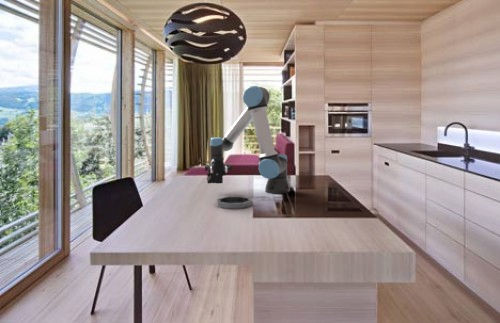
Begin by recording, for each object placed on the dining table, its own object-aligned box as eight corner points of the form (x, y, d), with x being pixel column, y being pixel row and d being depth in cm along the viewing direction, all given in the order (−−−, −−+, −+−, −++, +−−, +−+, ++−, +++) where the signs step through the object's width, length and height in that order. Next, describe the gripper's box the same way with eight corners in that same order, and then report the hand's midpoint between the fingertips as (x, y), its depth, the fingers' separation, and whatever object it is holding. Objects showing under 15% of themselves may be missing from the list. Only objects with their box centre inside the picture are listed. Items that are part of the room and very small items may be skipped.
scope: (209, 156, 220) (227, 156, 218) (210, 181, 221) (227, 181, 220) (205, 158, 212) (223, 158, 210) (206, 183, 213) (224, 184, 212)
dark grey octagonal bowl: (248, 200, 220) (248, 195, 220) (253, 207, 203) (253, 203, 202) (216, 201, 218) (216, 197, 218) (218, 209, 200) (218, 204, 200)
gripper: (234, 170, 235) (238, 176, 213) (200, 171, 233) (199, 177, 210) (234, 158, 234) (237, 162, 212) (199, 159, 232) (199, 163, 209)
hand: (218, 170), depth 211 cm, fingers closed on scope, 7 cm apart
